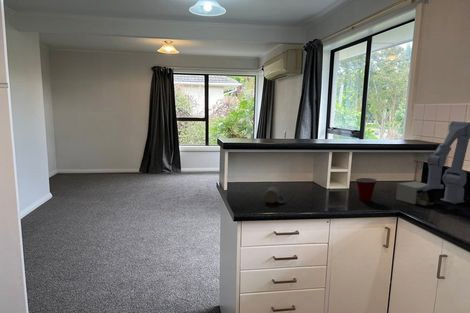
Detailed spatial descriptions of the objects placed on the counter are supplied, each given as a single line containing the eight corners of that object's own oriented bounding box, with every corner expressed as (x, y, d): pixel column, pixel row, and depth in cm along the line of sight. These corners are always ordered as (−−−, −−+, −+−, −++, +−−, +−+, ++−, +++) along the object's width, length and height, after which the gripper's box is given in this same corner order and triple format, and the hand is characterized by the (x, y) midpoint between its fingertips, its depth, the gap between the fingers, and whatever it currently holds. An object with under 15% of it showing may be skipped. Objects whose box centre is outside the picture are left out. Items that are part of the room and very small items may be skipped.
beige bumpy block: (416, 199, 182) (417, 189, 181) (433, 204, 173) (435, 194, 172) (407, 200, 178) (408, 191, 178) (424, 206, 169) (425, 195, 169)
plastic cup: (357, 196, 184) (359, 176, 183) (377, 200, 178) (379, 179, 176) (351, 200, 176) (352, 179, 174) (371, 204, 169) (373, 182, 168)
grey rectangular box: (413, 196, 187) (415, 181, 186) (431, 201, 177) (433, 185, 176) (395, 198, 181) (397, 183, 179) (414, 204, 171) (415, 188, 169)
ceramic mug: (263, 203, 167) (264, 189, 166) (266, 199, 175) (267, 185, 174) (283, 205, 164) (284, 191, 163) (285, 201, 172) (286, 187, 171)
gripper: (433, 180, 161) (430, 206, 163) (450, 178, 167) (447, 203, 169) (419, 177, 167) (417, 202, 169) (437, 175, 174) (434, 199, 176)
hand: (431, 202), depth 170 cm, fingers closed
